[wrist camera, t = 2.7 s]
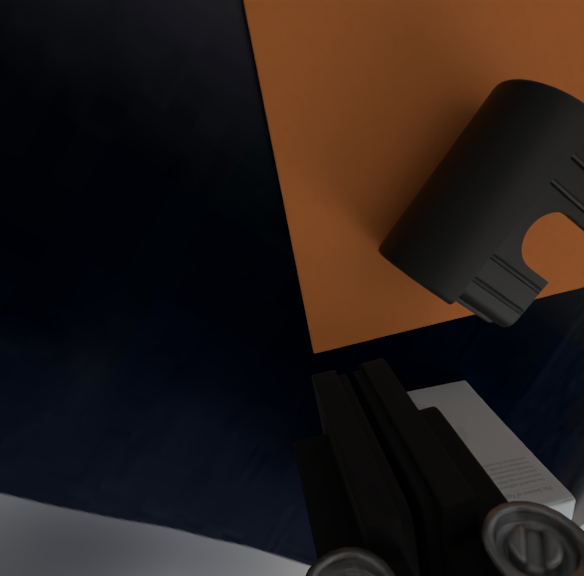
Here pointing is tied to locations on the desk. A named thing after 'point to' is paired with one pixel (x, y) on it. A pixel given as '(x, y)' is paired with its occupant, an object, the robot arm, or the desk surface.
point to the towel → (395, 137)
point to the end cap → (494, 201)
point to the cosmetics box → (496, 446)
